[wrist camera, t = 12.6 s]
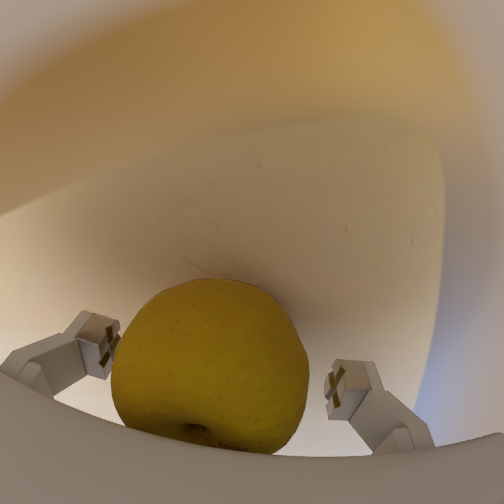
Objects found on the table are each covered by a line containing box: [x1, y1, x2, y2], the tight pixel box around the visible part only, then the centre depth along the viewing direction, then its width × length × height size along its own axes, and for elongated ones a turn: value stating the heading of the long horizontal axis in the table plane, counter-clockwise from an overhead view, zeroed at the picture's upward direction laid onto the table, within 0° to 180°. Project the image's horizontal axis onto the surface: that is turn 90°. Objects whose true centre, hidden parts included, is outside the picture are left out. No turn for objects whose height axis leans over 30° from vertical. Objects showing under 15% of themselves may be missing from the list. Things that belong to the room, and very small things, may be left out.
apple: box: [111, 278, 309, 455], centre depth 10 cm, size 6×6×8 cm
